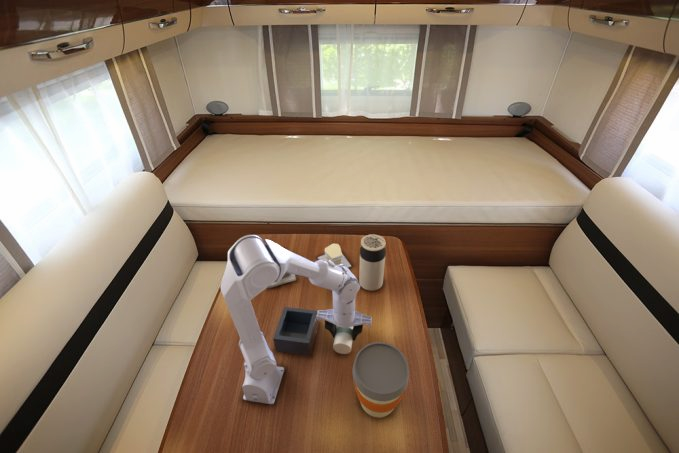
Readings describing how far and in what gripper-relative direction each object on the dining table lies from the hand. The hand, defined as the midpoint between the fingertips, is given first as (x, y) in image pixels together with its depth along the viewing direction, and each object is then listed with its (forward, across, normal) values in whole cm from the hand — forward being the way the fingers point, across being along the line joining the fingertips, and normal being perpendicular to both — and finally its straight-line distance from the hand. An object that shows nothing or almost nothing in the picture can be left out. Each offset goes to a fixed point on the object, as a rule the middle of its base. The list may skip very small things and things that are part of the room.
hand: (344, 336), depth 94 cm
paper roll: (-1, 0, 0) cm, 1 cm away
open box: (+2, +14, +1) cm, 14 cm away
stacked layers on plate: (+2, +8, -31) cm, 32 cm away
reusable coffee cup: (+2, -10, +15) cm, 18 cm away
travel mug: (+2, -6, -23) cm, 24 cm away
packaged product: (+2, +28, -25) cm, 38 cm away
